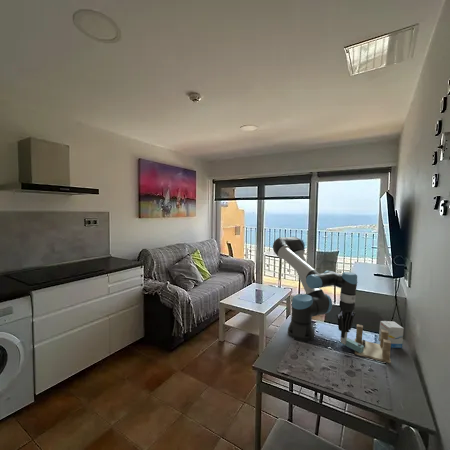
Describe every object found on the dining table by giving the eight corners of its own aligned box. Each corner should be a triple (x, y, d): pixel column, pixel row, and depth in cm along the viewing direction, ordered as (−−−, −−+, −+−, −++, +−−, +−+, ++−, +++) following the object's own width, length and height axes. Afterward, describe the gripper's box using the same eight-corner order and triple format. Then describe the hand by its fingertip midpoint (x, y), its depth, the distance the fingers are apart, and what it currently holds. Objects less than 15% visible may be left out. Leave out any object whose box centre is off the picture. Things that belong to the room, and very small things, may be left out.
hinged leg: (363, 351, 133) (364, 344, 133) (360, 353, 132) (360, 346, 131) (344, 341, 143) (344, 335, 142) (341, 343, 141) (341, 336, 141)
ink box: (402, 348, 140) (404, 328, 139) (387, 347, 140) (388, 327, 139) (392, 340, 149) (394, 321, 148) (378, 339, 149) (379, 320, 148)
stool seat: (354, 354, 133) (356, 335, 132) (354, 340, 147) (355, 323, 146) (390, 363, 126) (392, 344, 125) (387, 347, 140) (388, 330, 139)
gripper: (345, 305, 131) (341, 348, 133) (361, 302, 137) (357, 344, 139) (333, 300, 138) (329, 341, 139) (348, 297, 144) (344, 337, 145)
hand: (343, 342), depth 139 cm, fingers closed
